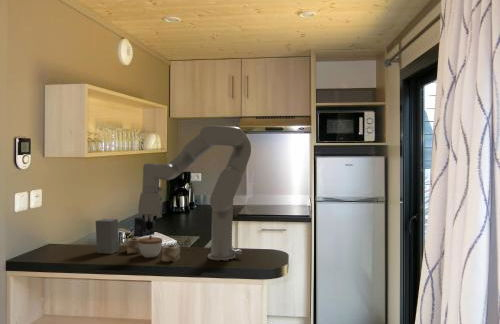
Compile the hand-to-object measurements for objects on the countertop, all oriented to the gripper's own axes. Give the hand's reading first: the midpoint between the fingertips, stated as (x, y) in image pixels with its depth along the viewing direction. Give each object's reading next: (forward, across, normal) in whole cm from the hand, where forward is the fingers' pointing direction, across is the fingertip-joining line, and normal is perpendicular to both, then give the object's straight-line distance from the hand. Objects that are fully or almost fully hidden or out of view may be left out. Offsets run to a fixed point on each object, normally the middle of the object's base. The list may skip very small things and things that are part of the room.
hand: (149, 229), depth 190 cm
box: (+13, +16, -51) cm, 55 cm away
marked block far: (+12, +9, -8) cm, 17 cm away
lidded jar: (+12, -1, 0) cm, 12 cm away
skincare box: (+13, +21, -5) cm, 25 cm away
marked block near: (+12, -12, +6) cm, 18 cm away
